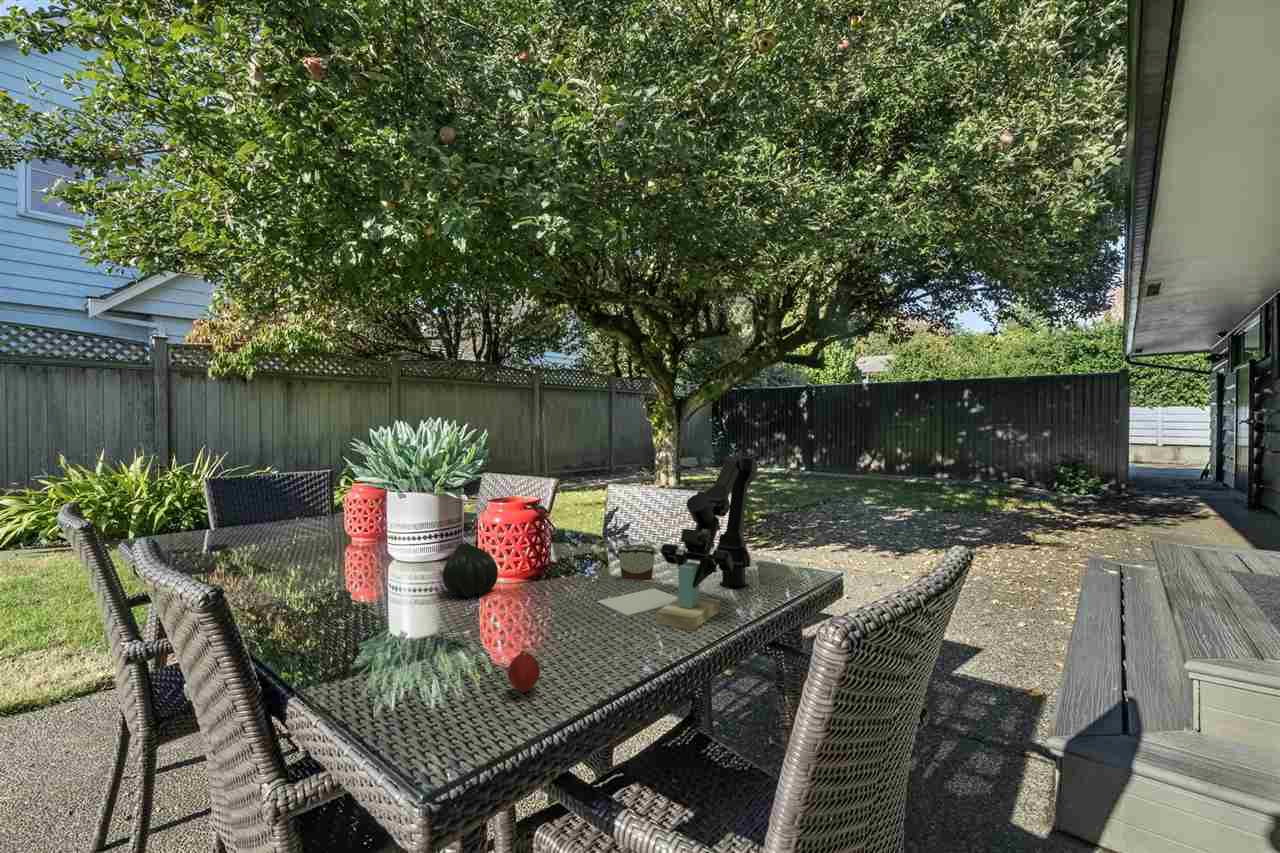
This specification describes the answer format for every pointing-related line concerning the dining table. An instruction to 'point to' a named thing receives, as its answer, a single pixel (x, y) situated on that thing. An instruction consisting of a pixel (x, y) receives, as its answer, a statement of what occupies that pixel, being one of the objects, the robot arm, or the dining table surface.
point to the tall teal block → (688, 585)
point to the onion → (523, 671)
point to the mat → (639, 602)
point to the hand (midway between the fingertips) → (686, 586)
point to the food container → (636, 561)
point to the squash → (469, 571)
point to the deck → (688, 614)
